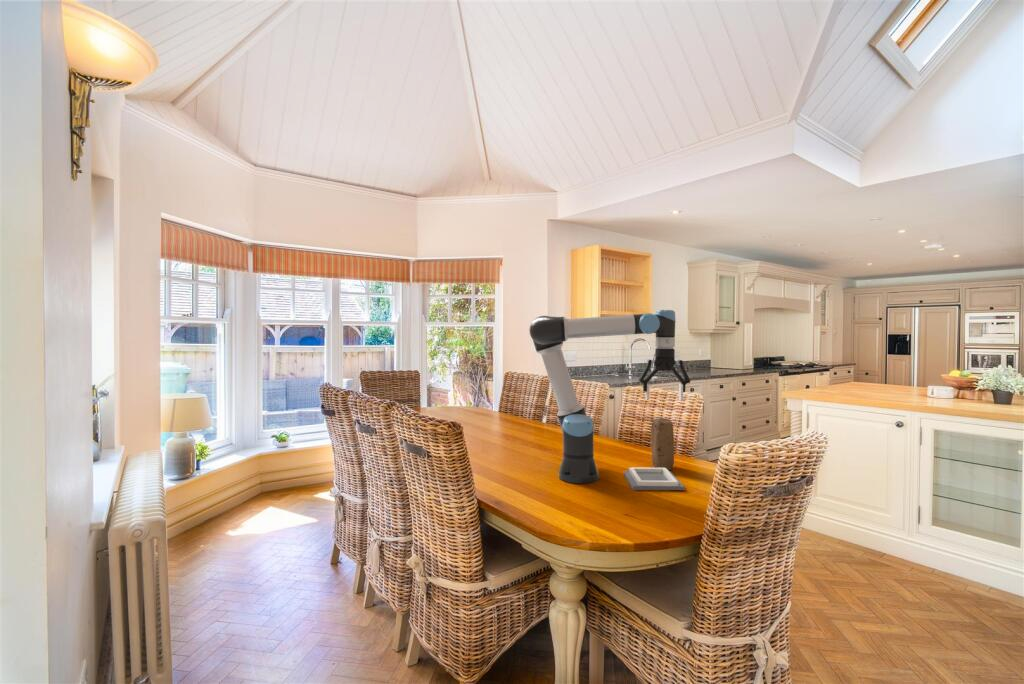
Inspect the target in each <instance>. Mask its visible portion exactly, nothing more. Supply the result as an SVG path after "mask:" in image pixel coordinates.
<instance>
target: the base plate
mask: <svg viewBox="0 0 1024 684" xmlns="http://www.w3.org/2000/svg"><path fill="white" fill-rule="evenodd" d="M624 475H625V476H624ZM623 476H624V478H625V477H626V478H625V480H626V481H627V483H628V482H629V483H628V485H629V484H630V485H629V487H630V486H631V487H630V488H631V491H636V490H684V491H686V490H685V486H684V484H682V482H681V481H680V480H679V479H678V478H677V477H676V476H675V475H674V474H673V472H672V470H670V471H668V470H667V469H666V468H654V467H640V466H639V467H638V466H637V467H635V466H634V467H628V470H623Z"/></svg>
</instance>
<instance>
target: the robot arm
mask: <svg viewBox="0 0 1024 684" xmlns="http://www.w3.org/2000/svg"><path fill="white" fill-rule="evenodd" d="M655 311H656V312H655V314H653V313H638V314H635V313H634V314H625V315H623V314H622V315H621V314H620V315H608V316H606V315H605V316H593V317H592V316H591V317H579V318H577V317H576V318H566V317H565V316H551V315H549V316H548V315H539V316H537V317H536V318H534V319H533V320H532V322H531V323H530V326H529V335H530V338H531V339H532V343H533V345H534V348H535V352H536V353H537V354H540V355H541V358H542V361H543V365H544V367H545V370H546V373H547V377H548V380H549V382H550V386H551V388H552V391H553V394H554V398H555V400H556V404H557V408H558V411H557V413H556V416H557V420H558V422H559V425H560V428H561V432H562V451H563V453H562V460H561V464H560V466H559V470H558V479H560V480H561V481H564V482H566V483H571V484H589V483H590V484H591V483H593V482H596V481H597V480H599V470H598V467H597V464H596V461H595V458H594V448H595V447H594V429H595V424H594V420H593V418H592V417H591V416H589V415H587V413H586V409H585V406H584V405H583V404H581V403H580V402H579V400H578V396H577V392H576V390H575V387H574V384H573V381H572V378H571V375H570V371H569V369H568V365H567V363H566V359H565V356H564V352H563V351H562V347H563V345H564V342H567V341H568V340H569V339H580V338H581V339H583V338H585V339H586V338H595V337H597V338H598V337H599V338H600V337H611V336H612V337H613V336H626V335H627V336H628V335H651V334H655V342H654V343H655V347H656V348H655V349H654V351H655V352H654V353H655V354H654V360H653V359H650V358H649V359H647V360H646V365H645V367H644V369H643V371H642V373H641V375H640V376H639V378H638V382H640V383H642V384H643V386H642V391H643V392H645V393H644V394H645V400H646V401H649V400H650V384H649V382H650V381H651V379H652V378H654V376H655V375H656V374H657V373H658V372H660V371H661V372H663V371H666V372H670V371H671V373H672V374H673V375H674V376H675V378H676V379H677V380H678V381H679V384H678V400H679V401H682V402H683V401H684V393H685V392H686V385H687V384H690V383H691V379H690V377H689V375H688V373H687V371H686V369H685V366H684V362H683V360H681V359H677V360H676V359H675V356H676V355H675V351H676V349H675V347H676V323H677V321H676V311H674V310H672V309H657V310H655ZM653 364H654V365H655V366H654V368H653V369H652V370H651V372H649V371H650V369H651V366H653ZM675 365H676V366H677V367H678V368H679V372H680V373H681V374H682V376H681V375H680V373H679V372H678V371H677V369H676V368H675V367H674V366H675ZM648 372H649V374H648Z"/></svg>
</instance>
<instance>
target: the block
mask: <svg viewBox="0 0 1024 684" xmlns="http://www.w3.org/2000/svg"><path fill="white" fill-rule="evenodd" d="M650 427H651V428H650V446H651V462H652V467H653V468H666V469H667V470H668V471H669V470H670V471H672V470H673V469H674V463H675V439H674V438H675V437H674V436H675V434H674V433H675V432H674V423H673V421H671V420H670V418H669V419H668V418H654V419H653V420H652V422H651V426H650Z"/></svg>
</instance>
